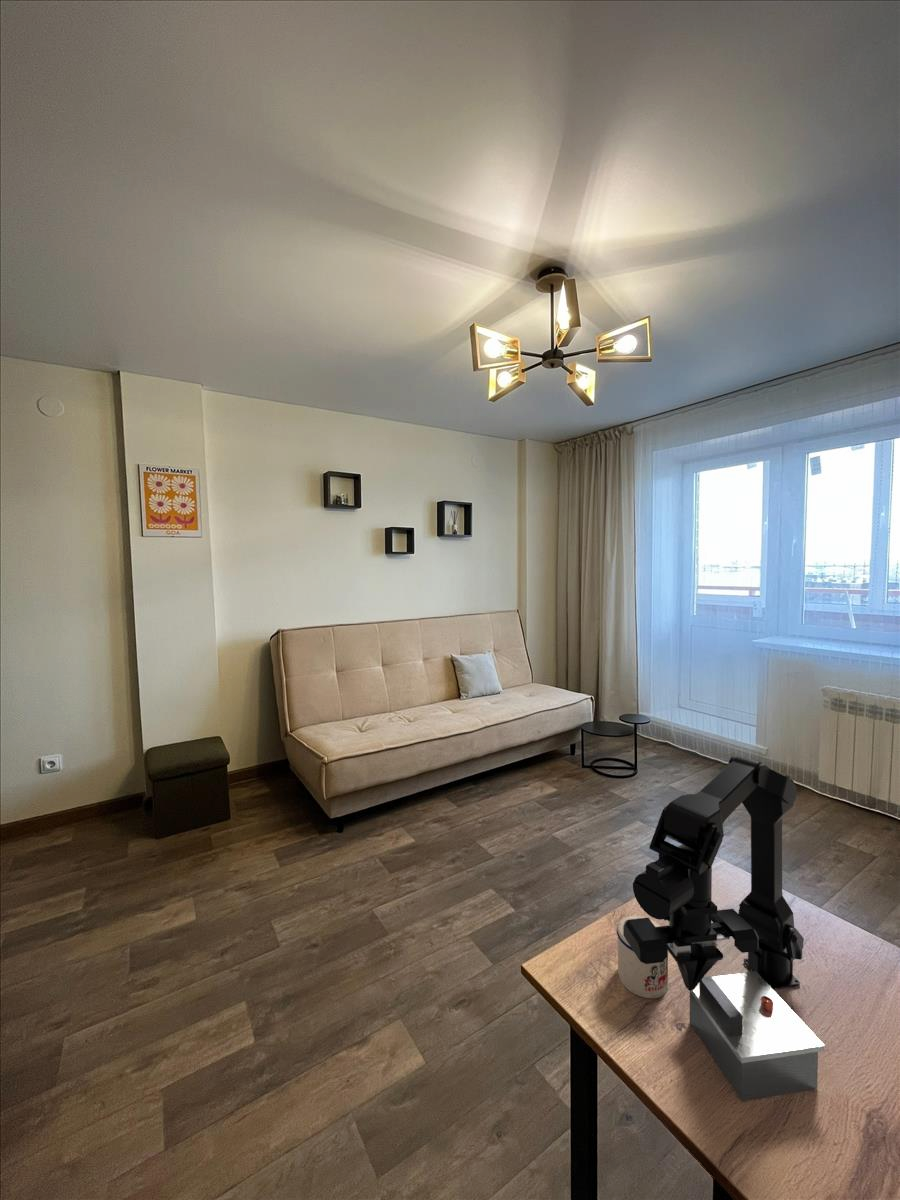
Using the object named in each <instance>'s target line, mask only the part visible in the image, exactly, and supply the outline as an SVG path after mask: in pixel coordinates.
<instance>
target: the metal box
mask: <svg viewBox="0 0 900 1200" xmlns="http://www.w3.org/2000/svg"><path fill="white" fill-rule="evenodd" d="M689 1024H690V1026H691V1027H692V1029H693V1031H694V1032H695V1034H696V1035H697V1037H698V1038H699V1040H700V1041H701V1043H702V1045H703V1046H704V1047H705V1049H706V1050H707V1052H708V1053H709V1055H710V1056H711V1058H712V1059H713V1061H714V1062H715V1064H716V1065H717V1067H718V1069H719V1070H720V1071H721V1073H722V1074H723V1076H724V1078H725V1079H726V1080H727V1082H728V1084H729V1086H731V1088H732V1089H733V1090H734V1092H735V1094H736V1096H737V1097H738V1099H739V1100H740V1102H748V1101H752V1100H753V1101H754V1100H759V1099H760V1100H761V1099H765V1098H773V1097H776V1096H783V1095H789V1094H796V1093H804V1092H809V1091H814V1090H818V1076H819V1075H818V1070H819V1069H818V1068H819V1067H818V1066H819V1052H812V1053H806V1054H799V1055H793V1056H786V1057H779V1058H773V1059H766V1060H760V1061H753V1062H747V1063H741V1062H740V1061H739V1059H738V1058H737V1056H736V1055H735V1054H734V1052H733V1051H732V1049H731V1048H730V1047H729V1045H728V1044H727V1042H726V1041H725V1040H724V1038H723V1037H722V1035H721V1034H720V1033H719V1031H718V1030H717V1028H716V1027H715V1026H714V1024H713V1023H712V1021H711V1020H710V1019H709V1017H708V1016H707V1014H706V1013H705V1012H704V1010H703V1009H702V1008H701V1006H700V1005H699V1003H698V1002H697V1001H696V999H695V998H694V996H693V995H692V994H691V992H690V991H689Z"/></svg>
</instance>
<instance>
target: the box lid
mask: <svg viewBox="0 0 900 1200" xmlns="http://www.w3.org/2000/svg"><path fill="white" fill-rule="evenodd" d="M688 991H689V993H690V992H691V994H692V995H693V996H694V998H695V999H696V1001H697V1002H698V1003H699V1005H700V1006H701V1008H702V1009H703V1010H704V1012H705V1013H706V1014H707V1016H708V1017H709V1019H710V1020H711V1021H712V1023H713V1024H714V1026H715V1027H716V1028H717V1030H718V1031H719V1033H720V1034H721V1035H722V1037H723V1038H724V1040H725V1041H726V1042H727V1044H728V1045H729V1047H730V1048H731V1049H732V1051H733V1052H734V1054H735V1055H736V1056H737V1058H738V1059H739V1061H740V1062H741V1063H747V1062H753V1061H760V1060H766V1059H773V1058H779V1057H786V1056H793V1055H799V1054H806V1053H812V1052H818V1053H819V1052H824V1051H825V1046H826V1045H825V1044H824V1043H823V1041H821V1040H820V1039H819V1038H818V1037H817V1036H816V1034H815V1033H814V1032H813V1031H812V1030H811V1029H810V1028H809V1027H808V1025H806V1024H805V1022H804V1021H803V1020H802V1019H801V1018H800V1017H799V1016H798V1015H797V1014H796V1013H795V1012H794V1010H793V1009H791V1007H790V1006H789V1005H788V1004H787V1003H786V1001H784V999H782V997H780V996H779V994H778V993H777V992H776V991H775V989H772V988H771V987H770V986H769V985H768V984H767V982H766V981H765V980H764V979H763V978H762V977H761V976H760V975H759V974H758V973H757V972H756V971H754V972H752V971H748V972H739V973H733V974H731V973H730V974H723V975H716V976H704V977H703V978H702V980H701V981H700V982H699V984H698V985H697V986H696V988H695V989H694V990H688Z"/></svg>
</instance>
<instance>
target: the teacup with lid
mask: <svg viewBox="0 0 900 1200" xmlns="http://www.w3.org/2000/svg"><path fill="white" fill-rule="evenodd" d="M639 918H646V917H645V916H642V915H628V916H625V917H623V918H622V919H621V920H619V922H618V923H617V926H616V936H617V972H618V973H617V974H618V978H619V980H620V982H621V983H622V985H623V986H624V987H625V988H626V989H628V991H629V992H631V993H632V994H634V995H636V996H638V997H641V998H646V999H657V998H660V997H662V996H664V995H665V993H666V992H667V991H668V986H669V956H668V957H667V958H666V959H665V960H664V961H663V962H660V963H651V964H645V963H642V962H640V960H639V959H638V957H637V956H636V954H635V953H634V951H633V949H632V948H631V946H630V945H629V943H628V942H627V940H626V939H625V937H624V936H623V925H624V923H625V921H626V920H630V919H639ZM649 919H650V920H651V922H652V923H653V924H654V926H655V927H659V926H661V925H660V924H659V923H658V922H656V921H654V920H653V919H651V918H649Z"/></svg>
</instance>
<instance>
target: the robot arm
mask: <svg viewBox="0 0 900 1200" xmlns="http://www.w3.org/2000/svg"><path fill="white" fill-rule="evenodd" d="M797 791H798V790H797V785H796V783H794V779H791V777H790V776H789V775H787V774H785V773H781V772H777V771H775V770H773V769H771V768H769V767H768V766H767V765H766V764H763V763H762V762H761V761H757V760H753V759H750V758H747V757H743V756H740V755H737V756H734V755H733V756H731V757H730V758H729V761H728V763H727V765H726V766H725V768H723V770H721V771H720V772H719V773H718V774H717V775H716V776H714V777H713V779H712V780H711V781H709V783H707V784H706V785H705V786H703V788H702V789H701V790H699V791H698V792H697V793H692V794H682V795H680V796H679V797H677V798H675V799H673V800H672V801H670V802H669V803H668V804H667V805H665V806H664V808H663V809H662V812H661V814H660V817H659V820H658V823H657V824H656V826H655V827H656V828H655V831H654V833H653V836H652V839H651V841H650V844H649V850H650V851H651V850H652V851H653V852H655V853H656V854H658V859H657V860H655V861H653V862H652V861H651V862H649V863H648V864H646V866H645V870H644V871H643V872H640V873H639V874H638V875H636V877H634V880H633V882H632V892H633V895H634V897H635V898H634V899H636V902H637V903H638V905H639V907H640V908H641V909H642V910H643V911H644V912H645V914H647V915H648V916H650V917H651V918H652V919H656V920H660V921H661V920H664V921H668V925H660V926H659V927H655V926H654V924H653V923H652V922H651V920H652V919H651V918H649V917H645V918H639V919H630V920H626V921H625V923H624V925H623V936H624V937H625V939H626V940H627V942H628V943H629V945H630V946H631V948H632V949H633V951H634V953H635V954H636V956H637V957H638V959H639V960H640V962H642V963H645V964H651V963H660V962H663V961H664V960H665V959H666V958H667V957H668V958H669V954H670V955H671V957H672V958H673V960H674V961H675V963H676V964H677V967H678V970H679V972H680V975H681V978H682V981H683V984H684V986H685V988H686V989H687V990H688V991H689V990H694V989H695V988H696V986H697V985H698V984H699V982H700V981H701V980H702V978H703V977H705V976H706V974H707V973H708V972H709V971H710V970H711V969H712V968H713V966H715V964H717V962H718V961H722V960H723V959H724V954H723V952H721V950H720V949H719V948H718V943H717V942H718V941H726V940H730V939H731V937H732V938H733V941H734V947H735V948H736V949H737V950H738V951H739V952H740V953H741V954H743V953H745V954H746V953H747V958H744V959H743V963H744V965H745V966H746V967H747V968H748V969H749V971H750V972H754V971H756V972H757V973H758V974H759V975H760V976H761V977H762V978H763V979H764V980H765V981H766V982H767V984H768V985H769V986H770V987H771V988H772V989H773V990H778V989H786V988H794V987H799V986H800V985H801V982H800V981H799V979H798V978H797V977H795V976H794V974H793V972H794V970H793V969H794V960H802V959H803V949H804V946H805V945H804V940H805V939H804V937H803V936H802V934H801V933H800V932H799V930H798V929H797V928H796V927H795V921H794V912H793V910H792V909H791V906H790V905H789V903H788V902H787V900H786V899H785V897H784V896H783V819H784V817H785V816H786V815H788V813H789V812H790V811H791V810H792V809H793V807H794V803H795V801H796V799H797V794H798V793H797ZM741 804H742V805H743V806H744V808H745V810H746V811H747V813H748V815H749V816H750V893H748V894H747V895H746V897H744V898H743V899H742V901H740V903H739V909H738V912H737V911H736V910H735V909H734V908H728V909H727V908H726V909H718V906H717V905H716V904H715V903H714V902H713V901H712V897H713V896H712V887H713V886H712V883H713V882H712V877H713V875H712V873H713V871H712V868H713V863H714V862H715V859H716V857H717V855H718V852H719V849H720V848H721V845H722V842H723V840H724V837H725V834H724V826H723V824H724V823H725V821H726V819H728V818H729V817H730V816H731V815H732V814H733V812H735V810H736V809H737V808H738V807H739V806H741ZM667 838H669V839H671V840H672V841H675V842H677V843H679V844H681V845H679V846H677V845H675V844H673V843H671V842H669V841H666V839H667ZM650 919H651V920H650Z"/></svg>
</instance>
